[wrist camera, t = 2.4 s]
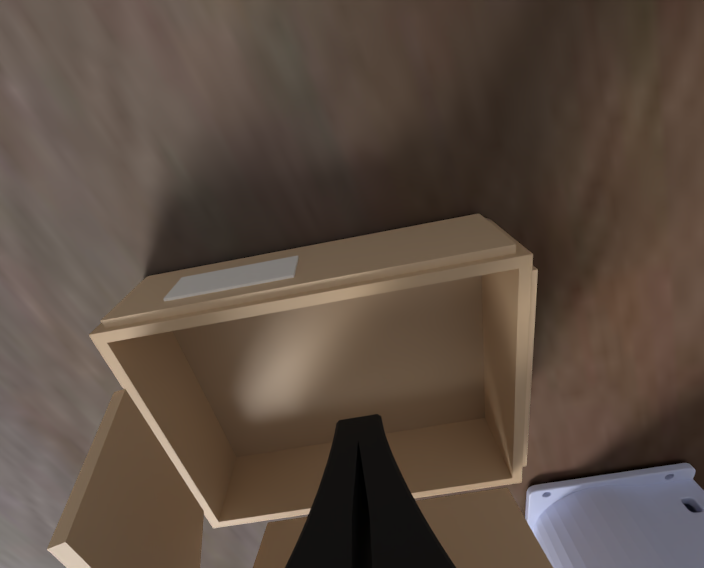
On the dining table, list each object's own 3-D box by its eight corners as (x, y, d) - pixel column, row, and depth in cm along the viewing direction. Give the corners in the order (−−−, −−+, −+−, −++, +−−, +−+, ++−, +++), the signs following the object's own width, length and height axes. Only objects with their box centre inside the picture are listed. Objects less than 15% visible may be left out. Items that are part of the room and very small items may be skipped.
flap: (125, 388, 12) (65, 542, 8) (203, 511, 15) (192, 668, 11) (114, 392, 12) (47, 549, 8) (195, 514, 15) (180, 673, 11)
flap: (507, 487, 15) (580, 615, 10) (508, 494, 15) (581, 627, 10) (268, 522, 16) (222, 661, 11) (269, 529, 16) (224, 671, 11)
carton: (496, 206, 14) (544, 239, 11) (496, 416, 19) (528, 481, 16) (138, 274, 15) (82, 324, 11) (233, 458, 20) (213, 528, 17)
